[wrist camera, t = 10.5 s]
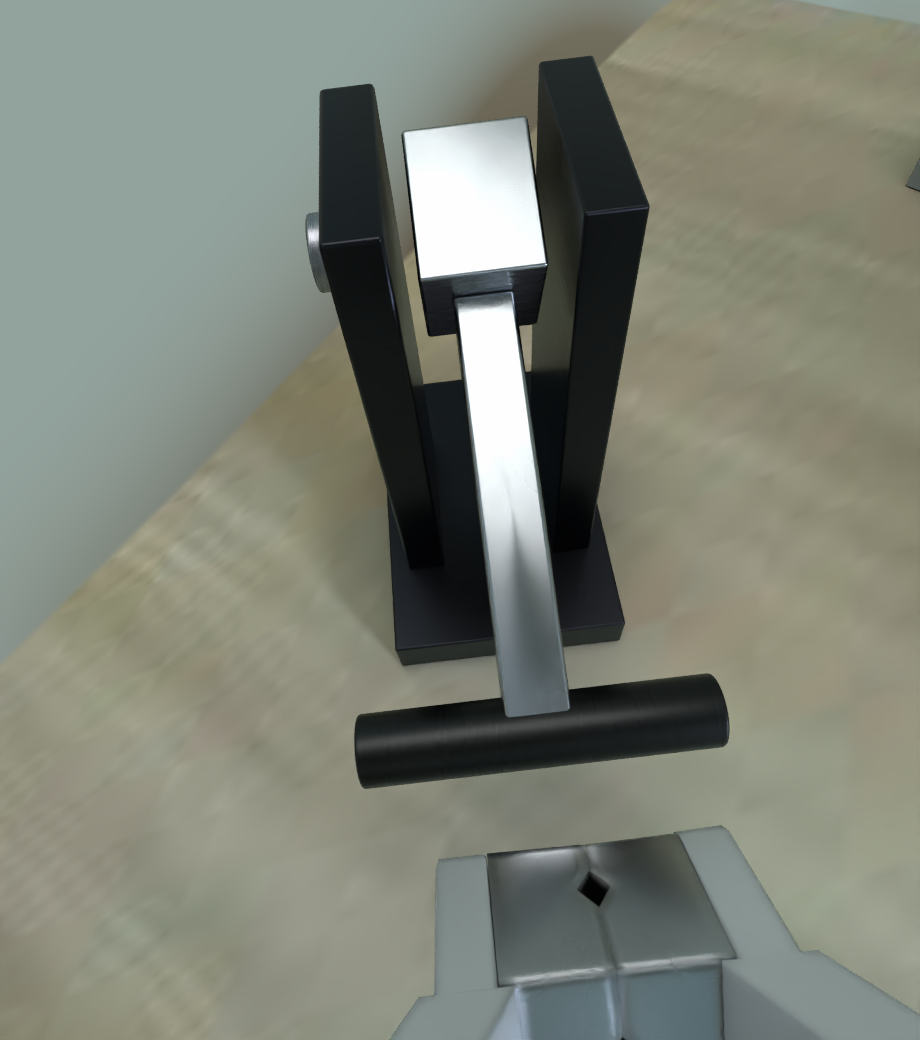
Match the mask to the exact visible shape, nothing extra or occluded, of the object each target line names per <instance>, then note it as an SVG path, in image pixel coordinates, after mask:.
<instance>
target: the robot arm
mask: <svg viewBox="0 0 920 1040" xmlns="http://www.w3.org/2000/svg"><path fill="white" fill-rule="evenodd" d="M487 861H488V865H487ZM389 1040H920V1014H918V1013H917V1012H915V1011H914V1010H912V1009H910V1008H909V1007H907V1006H906V1005H904V1004H903V1003H901V1002H899V1001H898V1000H896V999H895V998H893V997H891V996H890V995H888V994H887V993H885V992H884V991H882V990H880V989H879V988H877V987H876V986H874V985H872V984H871V983H869V982H868V981H866V980H865V979H863V978H861V977H860V976H858V975H857V974H855V973H853V972H852V971H850V970H849V969H847V968H845V967H844V966H842V965H841V964H839V963H838V962H836V961H834V960H833V959H831V958H830V957H828V956H826V955H825V954H823V953H822V952H820V951H819V950H814V951H805V952H802V951H801V950H800V948H799V946H798V945H797V943H796V942H795V940H794V938H793V937H792V935H791V933H790V932H789V930H788V928H787V927H786V925H785V923H784V922H783V920H782V918H781V917H780V915H779V913H778V912H777V910H776V908H775V907H774V905H773V903H772V902H771V900H770V898H769V897H768V895H767V893H766V892H765V890H764V888H763V887H762V885H761V883H760V882H759V880H758V878H757V877H756V875H755V873H754V872H753V870H752V868H751V867H750V865H749V863H748V862H747V860H746V858H745V857H744V855H743V853H742V852H741V850H740V848H739V847H738V845H737V843H736V842H735V840H734V838H733V837H732V835H731V833H730V832H729V830H727V829H726V828H724V827H723V826H721V825H720V826H713V827H706V828H699V829H692V830H685V831H678V832H674V834H666V835H658V836H650V837H642V838H634V839H626V840H618V841H610V842H602V843H594V844H586V845H573V846H563V847H552V848H542V849H531V850H521V851H510V852H499V853H489V854H487V859H486V856H485V855H475V856H465V857H455V858H446V859H439V860H438V864H437V867H436V891H435V980H434V995H433V996H425V997H419V998H418V999H417V1000H416V1002H415V1003H414V1005H413V1006H412V1008H411V1009H410V1010H409V1012H408V1013H407V1015H406V1016H405V1018H404V1019H403V1020H402V1022H401V1023H400V1025H399V1026H398V1028H397V1029H396V1031H395V1032H394V1033H393V1035H392V1036H391V1038H390V1039H389Z"/></svg>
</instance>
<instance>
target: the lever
mask: <svg viewBox="0 0 920 1040" xmlns="http://www.w3.org/2000/svg"><path fill="white" fill-rule="evenodd" d="M402 143H403V153H404V161H405V170H406V178H407V187H408V196H409V204H410V213H411V221H412V230H413V239H414V248H415V256H416V265H417V274H418V281H419V287H420V293H421V299H422V304H423V310H424V316H425V322H426V327H427V333H428V336H430V337H433V336H441V335H449V334H456V337H457V345H458V353H459V361H460V369H461V378H462V386H463V394H464V402H465V410H466V418H467V426H468V435H469V443H470V451H471V459H472V467H473V475H474V483H475V492H476V500H477V508H478V516H479V524H480V532H481V540H482V549H483V557H484V565H485V573H486V581H487V589H488V598H489V606H490V614H491V622H492V630H493V638H494V646H495V655H496V663H497V671H498V679H499V687H500V695H501V698H494V699H486V700H477V701H469V702H460V703H452V704H443V705H435V706H426V707H418V708H409V709H401V710H392V711H384V712H375V713H367V714H360V715H359V716H358V717H357V719H356V723H355V733H354V747H355V760H356V768H357V774H358V778H359V781H360V784H361V786H362V787H363V788H364V789H369V788H378V787H386V786H395V785H404V784H412V783H421V782H429V781H438V780H446V779H455V778H463V777H472V776H480V775H489V774H497V773H506V772H514V771H523V770H532V769H540V768H549V767H557V766H566V765H574V764H583V763H591V762H600V761H608V760H617V759H625V758H634V757H643V756H651V755H660V754H668V753H677V752H685V751H694V750H702V749H711V748H719V747H724V746H725V745H726V744H727V743H728V739H729V717H728V711H727V706H726V702H725V699H724V695H723V693H722V690H721V688H720V686H719V684H718V682H717V680H716V679H715V678H714V676H712V675H711V674H708V673H706V674H698V675H689V676H681V677H672V678H664V679H655V680H647V681H638V682H630V683H621V684H613V685H604V686H596V687H587V688H579V689H570V690H569V688H568V680H567V673H566V666H565V658H564V651H563V644H562V636H561V629H560V622H559V614H558V607H557V600H556V592H555V585H554V578H553V571H552V563H551V556H550V549H549V541H548V534H547V527H546V519H545V512H544V505H543V497H542V490H541V483H540V475H539V468H538V461H537V454H536V446H535V439H534V432H533V424H532V417H531V410H530V402H529V395H528V388H527V380H526V373H525V366H524V358H523V351H522V344H521V337H520V329H519V326H523V325H531V324H536V323H537V320H538V315H539V310H540V305H541V300H542V295H543V289H544V284H545V279H546V274H547V269H548V264H549V263H548V256H547V249H546V242H545V235H544V229H543V222H542V215H541V208H540V201H539V194H538V187H537V180H536V173H535V167H534V160H533V153H532V146H531V139H530V132H529V126H528V119H527V118H526V116H520V117H512V118H504V119H496V120H488V121H480V122H472V123H464V124H456V125H448V126H441V127H432V128H424V129H416V130H408V131H403V132H402Z"/></svg>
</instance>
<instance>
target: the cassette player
mask: <svg viewBox="0 0 920 1040" xmlns="http://www.w3.org/2000/svg"><path fill="white" fill-rule="evenodd" d="M906 186H909V187H912V188H914V189H917V190H920V159H919V161H918V163H917V165H916V167H915V169H914V171H913V172H912V174H911V176H910V178H909V180H908V182H907V184H906Z"/></svg>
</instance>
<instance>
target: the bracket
mask: <svg viewBox="0 0 920 1040" xmlns="http://www.w3.org/2000/svg"><path fill="white" fill-rule="evenodd" d="M538 84H539V85H538V122H537V163H536V180H537V187H538V194H539V201H540V208H541V215H542V222H543V229H544V235H545V242H546V249H547V256H548V263H549V264H548V269H547V274H546V279H545V284H544V289H543V295H542V300H541V305H540V310H539V315H538V320H537V323H536V324H532V364H531V371H529V372H525V373H526V380H527V388H528V395H529V402H530V410H531V417H532V424H533V432H534V439H535V446H536V454H537V461H538V468H539V475H540V483H541V490H542V497H543V505H544V512H545V519H546V527H547V534H548V541H549V549H550V556H551V563H552V571H553V578H554V585H555V592H556V600H557V607H558V614H559V622H560V629H561V636H562V644H563V647H565V646H573V645H582V644H590V643H598V642H607V641H615V640H619V639H620V636H621V633H622V630H623V627H624V624H625V620H624V616H623V612H622V608H621V603H620V599H619V595H618V591H617V586H616V582H615V578H614V574H613V569H612V565H611V561H610V557H609V552H608V548H607V544H606V540H605V535H604V531H603V527H602V523H601V518H600V514H599V510H598V506H597V499H598V493H599V487H600V482H601V476H602V471H603V465H604V459H605V454H606V448H607V443H608V437H609V431H610V426H611V420H612V415H613V409H614V403H615V398H616V392H617V386H618V381H619V375H620V370H621V364H622V358H623V353H624V347H625V342H626V336H627V330H628V325H629V319H630V314H631V308H632V302H633V297H634V291H635V286H636V280H637V274H638V269H639V263H640V258H641V252H642V246H643V241H644V235H645V230H646V224H647V218H648V213H649V207H650V206H649V203H648V200H647V198H646V195H645V193H644V190H643V187H642V185H641V182H640V179H639V177H638V174H637V171H636V169H635V166H634V163H633V161H632V158H631V155H630V153H629V150H628V148H627V145H626V142H625V140H624V137H623V134H622V132H621V129H620V126H619V124H618V121H617V118H616V116H615V113H614V111H613V108H612V105H611V103H610V100H609V97H608V95H607V92H606V89H605V87H604V84H603V81H602V79H601V76H600V74H599V71H598V68H597V66H596V63H595V60H594V58H593V56H584V57H576V58H568V59H560V60H553V61H545V62H541V63H540V65H539V83H538ZM319 117H320V118H319V119H320V120H319V123H320V125H319V128H320V129H319V212H315V213H309V214H307V216H306V240H307V247H308V252H309V259H310V263H311V268H312V272H313V275H314V278H315V282H316V285H317V287H318V289H319V290H320V292H323V293H326V292H331V293H332V297H333V300H334V304H335V307H336V311H337V314H338V318H339V322H340V325H341V329H342V332H343V336H344V339H345V343H346V346H347V350H348V353H349V357H350V361H351V364H352V368H353V371H354V375H355V378H356V382H357V385H358V389H359V392H360V396H361V399H362V403H363V407H364V410H365V414H366V417H367V421H368V424H369V428H370V431H371V435H372V438H373V442H374V446H375V449H376V453H377V456H378V460H379V463H380V467H381V470H382V474H383V477H384V481H385V484H386V488H387V502H388V520H389V539H390V557H391V575H392V594H393V612H394V631H395V649H396V652H397V654H398V657H399V659H400V662H401V664H402V665H403V666H404V665H413V664H421V663H430V662H438V661H446V660H455V659H463V658H472V657H480V656H489V655H495V646H494V638H493V630H492V622H491V614H490V606H489V598H488V589H487V581H486V573H485V565H484V557H483V549H482V540H481V532H480V524H479V516H478V508H477V500H476V492H475V483H474V475H473V467H472V459H471V451H470V443H469V435H468V426H467V418H466V410H465V402H464V394H463V386H462V380H455V381H447V382H438V383H430V384H423V379H422V373H421V367H420V361H419V355H418V349H417V343H416V337H415V331H414V325H413V319H412V313H411V307H410V301H409V294H408V288H407V282H406V276H405V270H404V264H403V258H402V253H401V246H400V240H399V234H398V228H397V222H396V216H395V210H394V204H393V198H392V192H391V186H390V180H389V174H388V168H387V162H386V156H385V150H384V143H383V138H382V132H381V126H380V120H379V113H378V108H377V101H376V96H375V90H374V87H373V85H372V84H364V85H356V86H348V87H340V88H332V89H324V90H322V91H321V92H320V116H319Z"/></svg>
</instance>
